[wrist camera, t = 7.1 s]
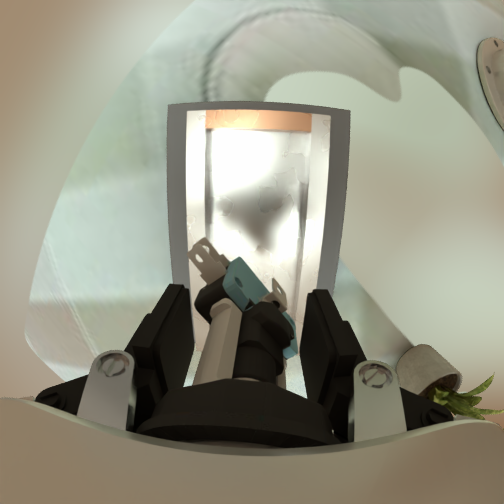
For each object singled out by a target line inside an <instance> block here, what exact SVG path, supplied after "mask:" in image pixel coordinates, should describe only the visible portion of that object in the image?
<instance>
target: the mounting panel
mask: <svg viewBox="0 0 504 504" xmlns="http://www.w3.org/2000/svg"><path fill="white" fill-rule="evenodd" d="M198 110H273V111H290V112H302V113H312V114H321V115H329V116H331V121H330V149H329V168H328V183H327V196H326V208H325V219H324V229H323V239H322V247H321V256H320V264H319V272H318V279H317V286H316V289H328V291H329V293H330V295H331V297H332V296H333V290H334V284H335V278H336V272H337V266H338V259H339V251H340V244H341V237H342V229H343V220H344V211H345V200H346V190H347V178H348V162H349V144H350V110H344V109H337V108H330V107H322V106H313V105H304V104H292V103H277V102H252V101H222V102H197V103H182V104H171V105H168V117H167V201H168V224H169V240H170V254H171V266H172V277H173V284H184V286H185V288H189V291H190V303H191V314H192V324H193V334H194V343H196V341H195V331H194V321H193V311H192V299H191V287H190V273H189V258H188V256H187V252H188V237H187V209H186V128H187V111H198Z"/></svg>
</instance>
